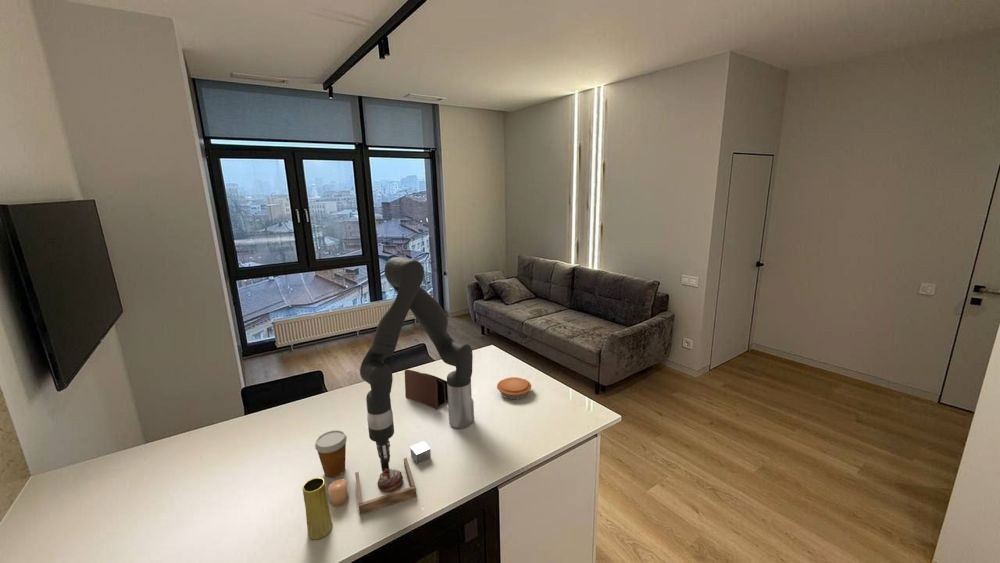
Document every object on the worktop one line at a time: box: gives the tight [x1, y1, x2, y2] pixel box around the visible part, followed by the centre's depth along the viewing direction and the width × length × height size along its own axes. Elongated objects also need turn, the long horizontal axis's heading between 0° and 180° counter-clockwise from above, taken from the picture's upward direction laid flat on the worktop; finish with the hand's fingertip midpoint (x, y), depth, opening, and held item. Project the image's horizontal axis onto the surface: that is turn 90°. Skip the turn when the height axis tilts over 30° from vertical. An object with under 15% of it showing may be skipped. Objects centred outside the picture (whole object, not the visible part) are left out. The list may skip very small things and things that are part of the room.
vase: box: [301, 477, 334, 540], centre depth 100 cm, size 6×6×14 cm
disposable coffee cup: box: [314, 429, 348, 478], centre depth 122 cm, size 10×10×12 cm
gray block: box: [409, 441, 432, 465], centre depth 128 cm, size 5×5×4 cm
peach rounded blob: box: [328, 478, 349, 508], centre depth 111 cm, size 5×5×5 cm
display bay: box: [354, 457, 417, 516], centre depth 115 cm, size 16×14×3 cm
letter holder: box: [404, 369, 448, 411], centre depth 165 cm, size 10×20×14 cm, turn 55°
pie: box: [496, 376, 532, 400], centre depth 169 cm, size 15×16×5 cm
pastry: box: [377, 468, 404, 493], centre depth 117 cm, size 8×8×5 cm
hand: (385, 469), depth 121 cm, fingers closed
